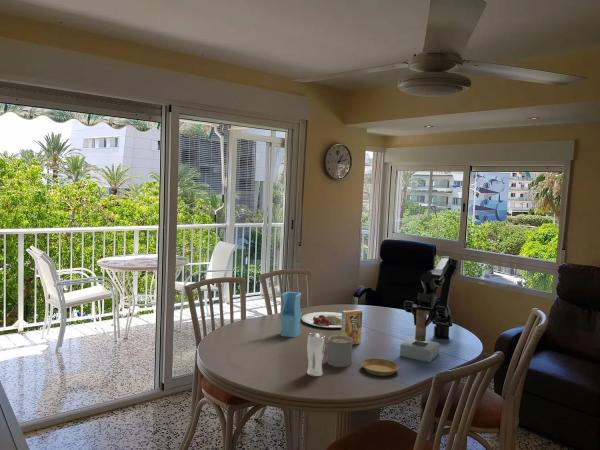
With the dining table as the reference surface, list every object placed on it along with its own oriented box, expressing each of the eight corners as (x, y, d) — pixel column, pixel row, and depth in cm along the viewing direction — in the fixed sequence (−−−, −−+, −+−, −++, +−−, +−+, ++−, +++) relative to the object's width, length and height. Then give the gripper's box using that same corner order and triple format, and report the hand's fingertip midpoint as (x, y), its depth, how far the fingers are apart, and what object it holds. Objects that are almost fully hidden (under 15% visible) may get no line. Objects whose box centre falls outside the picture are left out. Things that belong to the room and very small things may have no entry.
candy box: (356, 341, 227) (357, 309, 226) (361, 343, 224) (362, 311, 222) (340, 343, 223) (341, 310, 222) (344, 345, 220) (346, 312, 219)
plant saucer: (372, 361, 201) (373, 355, 201) (405, 371, 192) (405, 364, 192) (353, 371, 190) (353, 364, 189) (386, 381, 180) (387, 374, 180)
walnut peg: (421, 338, 213) (423, 309, 212) (427, 341, 209) (429, 311, 208) (413, 338, 212) (414, 309, 211) (418, 341, 208) (420, 312, 207)
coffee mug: (343, 369, 191) (344, 344, 190) (322, 363, 197) (323, 338, 196) (360, 360, 201) (361, 336, 201) (340, 354, 207) (341, 332, 207)
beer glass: (305, 370, 188) (306, 332, 187) (322, 370, 189) (324, 332, 188) (306, 376, 181) (308, 337, 180) (325, 377, 182) (326, 337, 181)
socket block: (410, 348, 220) (410, 337, 220) (438, 354, 213) (439, 343, 213) (399, 355, 209) (400, 344, 209) (429, 362, 202) (430, 350, 202)
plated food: (360, 318, 271) (360, 312, 270) (353, 333, 241) (354, 326, 241) (307, 313, 277) (308, 307, 277) (295, 327, 248) (295, 320, 248)
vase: (279, 335, 232) (281, 294, 230) (286, 331, 239) (287, 291, 238) (294, 337, 229) (296, 296, 228) (300, 333, 236) (302, 293, 235)
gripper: (405, 282, 217) (395, 311, 209) (447, 288, 207) (438, 319, 199) (410, 297, 224) (400, 325, 216) (451, 303, 214) (442, 333, 206)
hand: (420, 325), depth 209 cm, fingers closed on walnut peg, 4 cm apart
